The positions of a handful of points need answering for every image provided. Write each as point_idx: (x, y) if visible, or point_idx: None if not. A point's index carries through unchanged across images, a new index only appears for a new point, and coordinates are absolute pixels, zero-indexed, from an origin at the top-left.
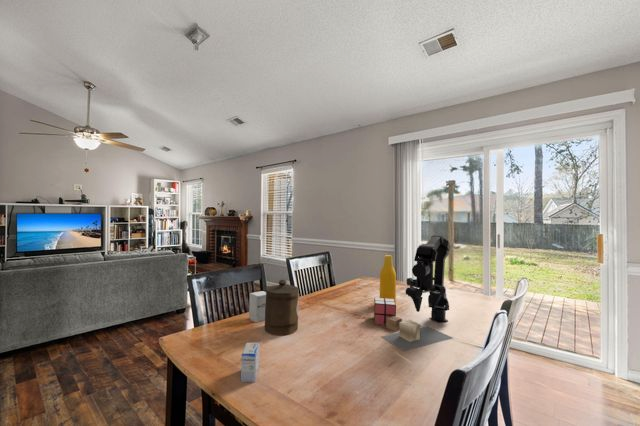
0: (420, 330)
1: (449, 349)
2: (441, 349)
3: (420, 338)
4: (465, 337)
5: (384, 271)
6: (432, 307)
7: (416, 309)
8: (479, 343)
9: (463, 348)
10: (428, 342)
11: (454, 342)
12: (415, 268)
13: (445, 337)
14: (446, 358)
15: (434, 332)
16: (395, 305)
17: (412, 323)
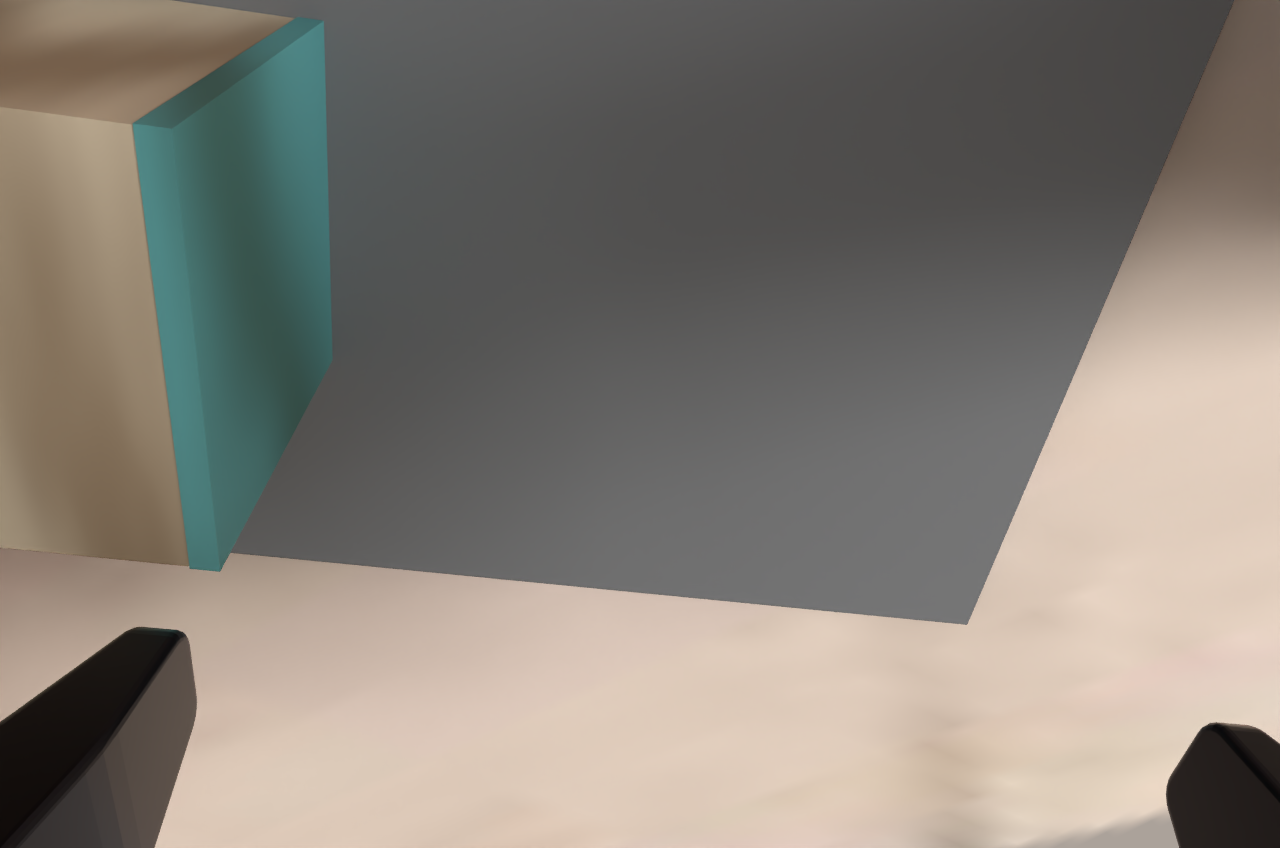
0: (266, 469)
1: (511, 743)
2: (395, 697)
3: (326, 366)
4: (1191, 667)
5: None
6: (1227, 788)
7: (61, 705)
8: (1092, 830)
9: (726, 805)
10: (364, 516)
11: (825, 674)
12: None
13: (866, 549)
14: (234, 830)
15: (941, 311)
16: None
17: (19, 396)
